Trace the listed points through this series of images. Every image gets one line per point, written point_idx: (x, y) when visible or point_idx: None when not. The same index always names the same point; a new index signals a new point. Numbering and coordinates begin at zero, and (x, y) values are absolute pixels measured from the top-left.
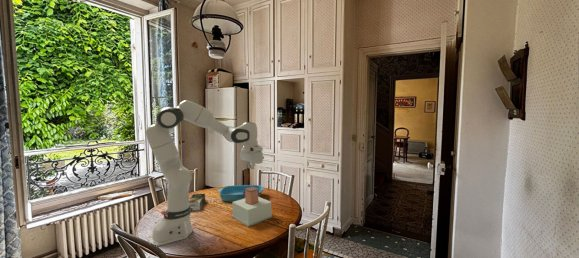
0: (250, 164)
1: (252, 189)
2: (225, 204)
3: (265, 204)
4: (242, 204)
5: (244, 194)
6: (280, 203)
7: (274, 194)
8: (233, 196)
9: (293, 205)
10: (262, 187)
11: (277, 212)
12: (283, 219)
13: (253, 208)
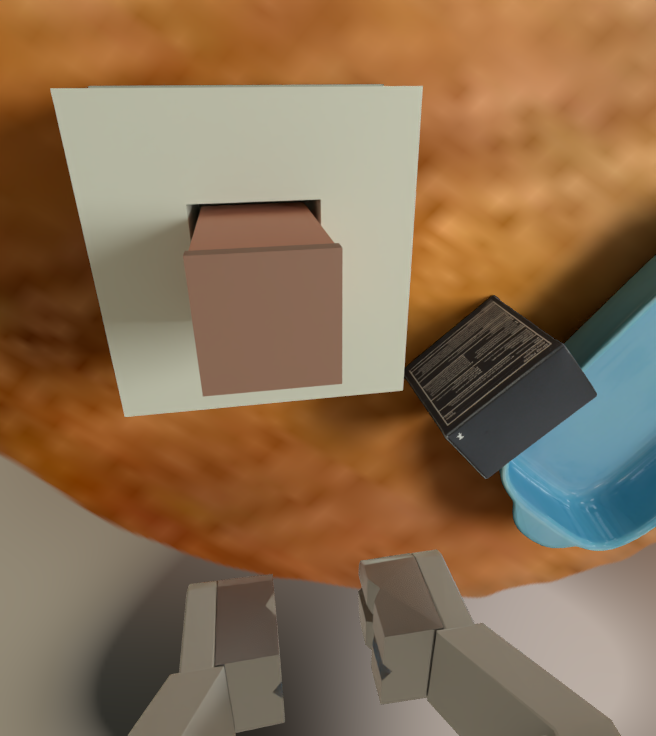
0: (449, 721)
1: (231, 319)
2: (643, 190)
3: (109, 344)
4: (266, 140)
5: (538, 342)
6: (314, 514)
7: (473, 557)
8: (653, 283)
9: (222, 557)
10: (561, 540)
11: (193, 423)
12: (50, 392)
13: (71, 177)
